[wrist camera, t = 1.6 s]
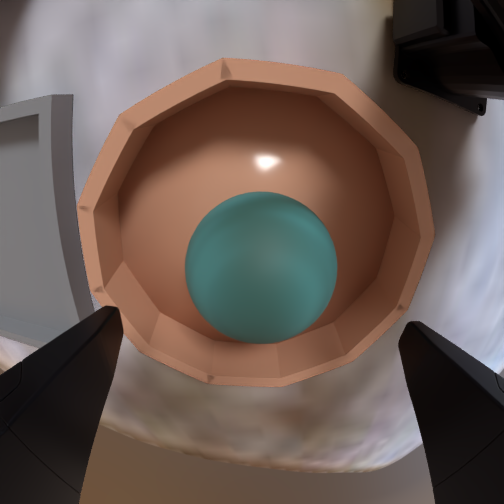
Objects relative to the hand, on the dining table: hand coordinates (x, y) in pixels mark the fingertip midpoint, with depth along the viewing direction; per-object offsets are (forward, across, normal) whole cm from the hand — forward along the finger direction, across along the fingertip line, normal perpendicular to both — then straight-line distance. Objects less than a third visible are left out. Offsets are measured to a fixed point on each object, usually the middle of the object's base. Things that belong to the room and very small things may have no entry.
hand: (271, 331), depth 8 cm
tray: (+7, +18, +1) cm, 20 cm away
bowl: (+8, 0, 0) cm, 8 cm away
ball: (+4, 0, 0) cm, 4 cm away
